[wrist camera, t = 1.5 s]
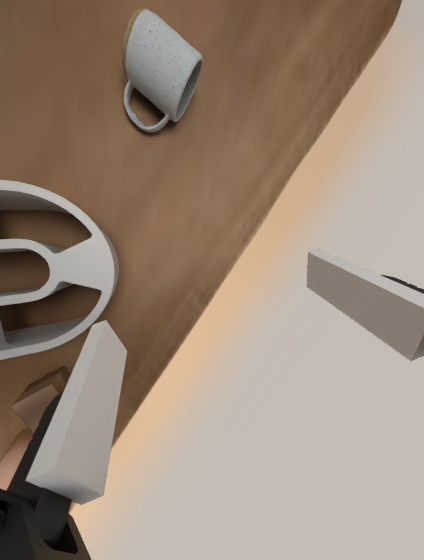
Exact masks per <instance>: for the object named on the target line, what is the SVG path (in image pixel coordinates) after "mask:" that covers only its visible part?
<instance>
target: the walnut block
mask: <svg viewBox="0 0 424 560" xmlns="http://www.w3.org/2000/svg"><path fill="white" fill-rule="evenodd" d="M70 376H71V375H70V373H69V372H68V371H67V369H66V368H65V366H63V367H61V368H60V369H58V370H56V371H54V372H52V373H50V374H48V375H46V376H44V377H43V378H41V379H39V380H37V381H35V382H33V383H31V384H30V385H29V386H28V387H27V388H26V390H25V391H24V392H23V393H22V394H21V395H20V396H19V397H18V399H17V400H16V401H15V402H14V403H13V404H12V405H11V407H12V408H13V409H14V411H15V412H16V413H17V414H18V415H19V416H20V417H21V419H22V420H23V421H24V422H25V423H26V424H27V426H28V427H29V428H30V429H31V430H32V431H33V432H35V430H36V428H37V427H38V426H39V425H38V423H39V421H40V419H41V417H42V415H43V413H44V411H45V409H46V408H47V407H48V405H49V404H50V403H51V401H52V400H53V399H54V397H55V396H56V395H59V394H62V393H63V392H64V390H65V388H66V385H67V383H68V381H69V378H70Z"/></svg>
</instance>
